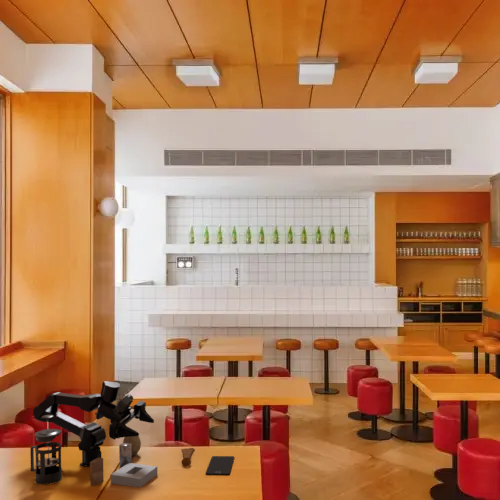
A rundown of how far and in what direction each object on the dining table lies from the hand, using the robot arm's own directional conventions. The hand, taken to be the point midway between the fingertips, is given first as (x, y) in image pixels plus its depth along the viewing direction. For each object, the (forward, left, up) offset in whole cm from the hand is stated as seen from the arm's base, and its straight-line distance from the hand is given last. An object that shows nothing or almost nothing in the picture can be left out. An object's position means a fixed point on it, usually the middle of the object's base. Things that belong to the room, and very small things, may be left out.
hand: (146, 428), depth 214 cm
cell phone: (+23, +15, -17) cm, 32 cm away
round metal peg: (-11, +4, -17) cm, 20 cm away
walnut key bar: (-12, -13, -17) cm, 25 cm away
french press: (-31, -16, -17) cm, 39 cm away
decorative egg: (-15, +15, -17) cm, 27 cm away
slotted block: (-1, -6, -16) cm, 18 cm away
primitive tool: (+6, +19, -17) cm, 27 cm away
